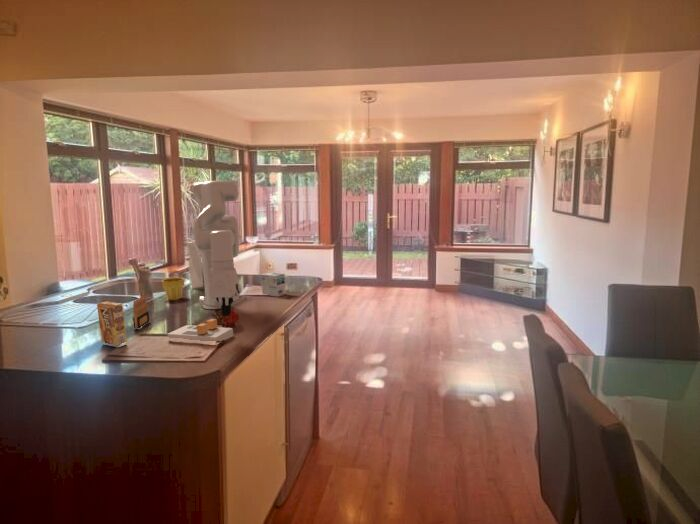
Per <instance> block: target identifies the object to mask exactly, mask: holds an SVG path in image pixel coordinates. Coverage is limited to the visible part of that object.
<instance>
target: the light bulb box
mask: <svg viewBox="0 0 700 524" xmlns="http://www.w3.org/2000/svg"><path fill="white" fill-rule="evenodd" d="M260 279H261V291H262V293H263V294H267V295H266V296H269V295H270V297H281V296H284V295H286V294H287V286H286V274H285V273H279V272H265V273H261V274H260ZM262 293H261V294H262ZM283 294H284V295H283Z"/></svg>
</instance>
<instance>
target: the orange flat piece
mask: <svg viewBox="0 0 700 524" xmlns="http://www.w3.org/2000/svg"><path fill="white" fill-rule="evenodd" d="M132 310H133V311H132V312H133V318H132V319H133V329H134V328H140V327H141V326H143V325H144V324H146V323H148V322H149V321H150V314H149V310H148V304H147V298H146V296H145V295H144V294H143V295H141V296H140V297H138V298H137V299H135V300H133V309H132Z"/></svg>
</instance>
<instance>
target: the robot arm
mask: <svg viewBox="0 0 700 524" xmlns="http://www.w3.org/2000/svg"><path fill="white" fill-rule="evenodd" d="M191 189H192V194H193V197H194V199H195V201H196V203H197V205H198V207H199V214H198V215H197V216H196V218H195V220H194V222H193V227H192V228H193V237H194V239H193V240H195V244H196V247H197V248H198V249H199V250H200V257H201V261H202V266H203V267H202V268H203V274H204V286H205V288H204V296H199V299H198V301H199V302H202V303H203V304H202V308H203V309H205V310H219V309H221V310H222V316H229V315H231V308H232V304H233V302H234V301H237V300H239V299H240V282H239V278H238V277H239V276H238V271H237V270H236V269H237V268H235V266H234V265H235V264H234V258H236V257H238V255H239V254H240V239H239V237H240V236H239V225H238V224H239V223H238V219H237V217H236V216H235V215H231V214H226V213H227V207H226V202H236V201H238V198H239V187H238V184H237V183H236V182H235V181H234V180H230V179H228V180H227V179H225V180H224V179H223V180H222V179H221V180H218V179H217V180H209V181H199V182H195V183H193V185H192V188H191Z"/></svg>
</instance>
